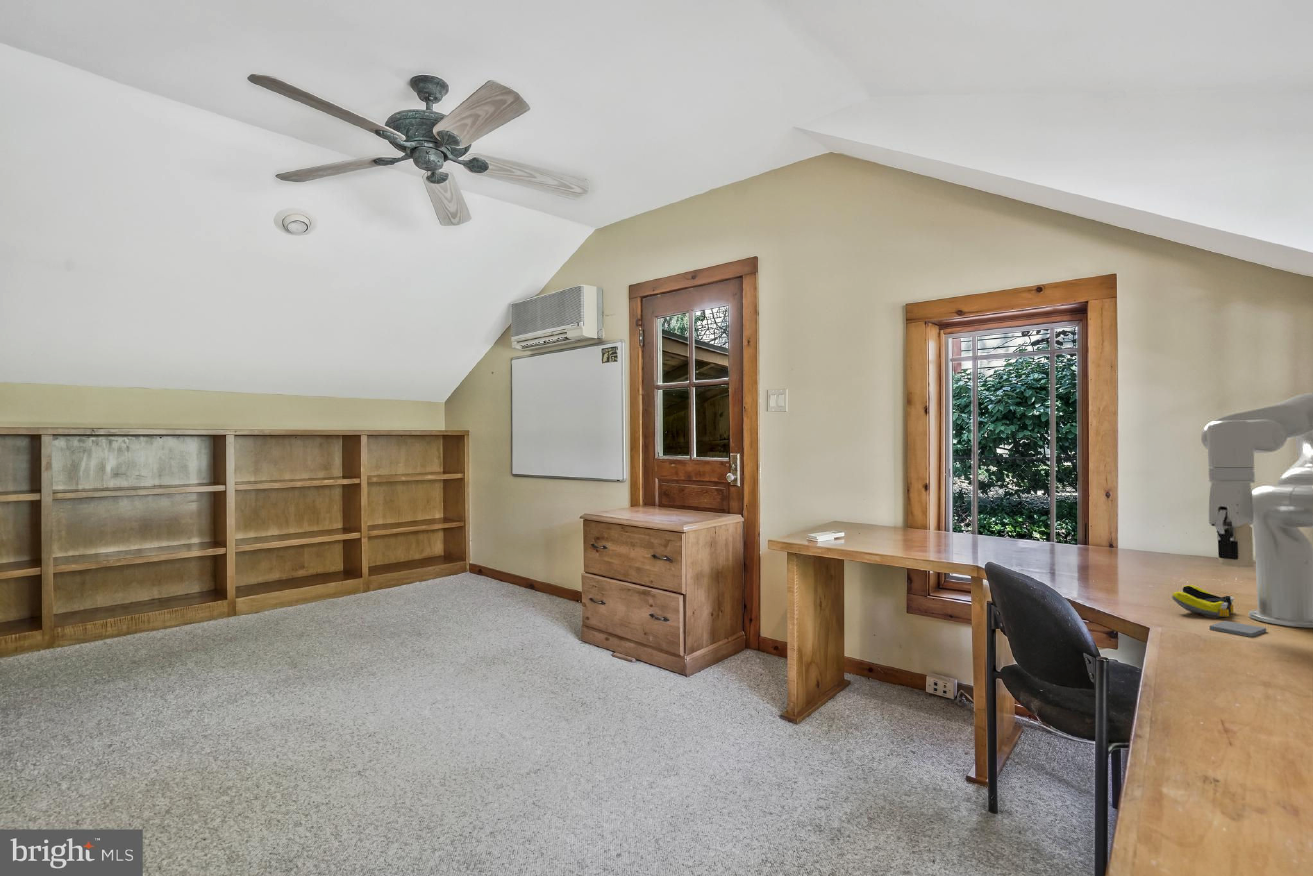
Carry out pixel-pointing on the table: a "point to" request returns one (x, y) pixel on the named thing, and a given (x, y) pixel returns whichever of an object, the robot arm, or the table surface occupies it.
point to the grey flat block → (1238, 628)
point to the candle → (1241, 548)
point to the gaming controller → (1203, 602)
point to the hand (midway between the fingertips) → (1234, 556)
